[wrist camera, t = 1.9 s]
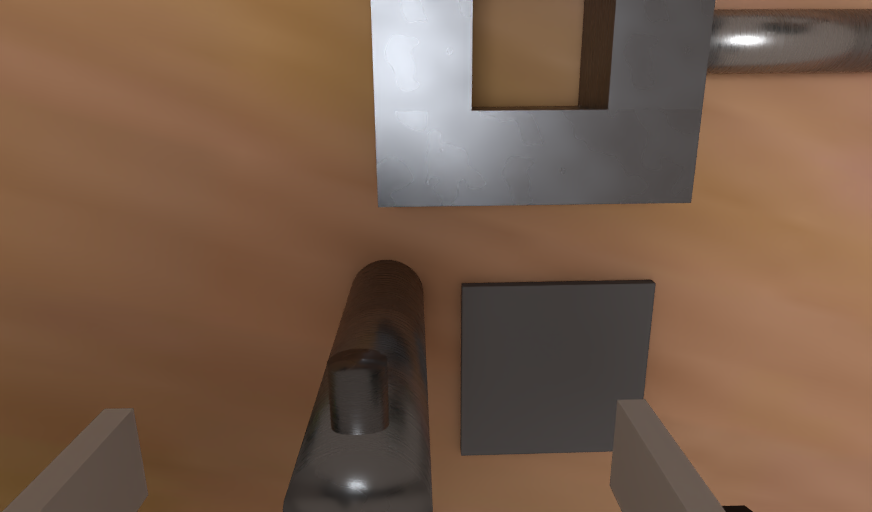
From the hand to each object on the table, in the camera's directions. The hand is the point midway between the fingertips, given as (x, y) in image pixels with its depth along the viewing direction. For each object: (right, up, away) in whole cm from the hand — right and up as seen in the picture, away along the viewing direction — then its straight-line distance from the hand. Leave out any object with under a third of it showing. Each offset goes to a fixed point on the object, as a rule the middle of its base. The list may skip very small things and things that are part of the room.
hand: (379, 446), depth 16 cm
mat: (+7, 0, +13) cm, 15 cm away
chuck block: (+10, +14, +8) cm, 19 cm away
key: (-1, +3, +11) cm, 12 cm away
